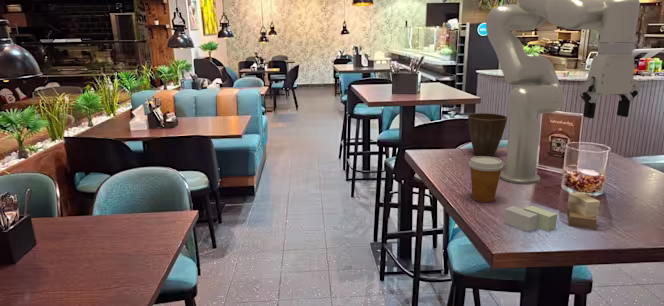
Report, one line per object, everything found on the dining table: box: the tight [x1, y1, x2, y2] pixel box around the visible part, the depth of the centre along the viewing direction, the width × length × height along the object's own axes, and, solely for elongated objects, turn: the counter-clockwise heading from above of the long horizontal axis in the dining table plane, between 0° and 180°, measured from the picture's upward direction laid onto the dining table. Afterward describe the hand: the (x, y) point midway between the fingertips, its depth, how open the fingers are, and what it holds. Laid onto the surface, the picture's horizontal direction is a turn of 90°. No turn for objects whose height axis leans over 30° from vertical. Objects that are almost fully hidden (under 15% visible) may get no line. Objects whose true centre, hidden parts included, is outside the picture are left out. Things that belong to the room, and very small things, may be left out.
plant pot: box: [467, 112, 508, 157], centre depth 180 cm, size 15×15×16 cm
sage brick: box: [523, 205, 558, 232], centre depth 114 cm, size 7×4×4 cm, turn 33°
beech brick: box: [566, 191, 601, 218], centre depth 115 cm, size 7×4×4 cm, turn 9°
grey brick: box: [503, 205, 538, 233], centre depth 113 cm, size 7×4×4 cm, turn 33°
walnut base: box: [566, 207, 598, 231], centre depth 116 cm, size 9×6×3 cm, turn 155°
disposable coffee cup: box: [468, 156, 504, 203], centre depth 132 cm, size 10×10×12 cm
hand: (605, 116), depth 116 cm, fingers open, 9 cm apart
